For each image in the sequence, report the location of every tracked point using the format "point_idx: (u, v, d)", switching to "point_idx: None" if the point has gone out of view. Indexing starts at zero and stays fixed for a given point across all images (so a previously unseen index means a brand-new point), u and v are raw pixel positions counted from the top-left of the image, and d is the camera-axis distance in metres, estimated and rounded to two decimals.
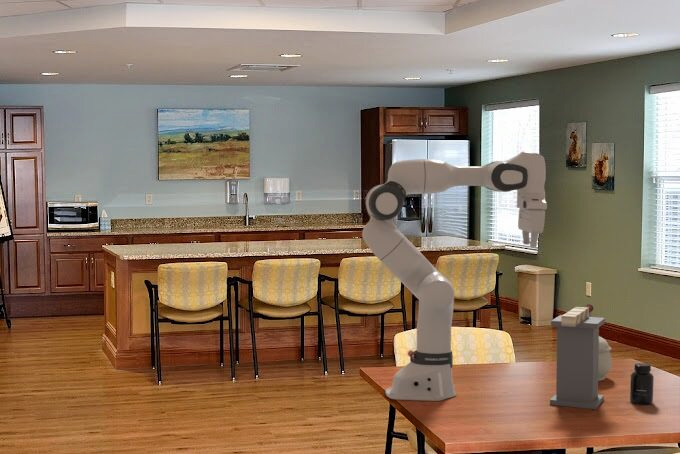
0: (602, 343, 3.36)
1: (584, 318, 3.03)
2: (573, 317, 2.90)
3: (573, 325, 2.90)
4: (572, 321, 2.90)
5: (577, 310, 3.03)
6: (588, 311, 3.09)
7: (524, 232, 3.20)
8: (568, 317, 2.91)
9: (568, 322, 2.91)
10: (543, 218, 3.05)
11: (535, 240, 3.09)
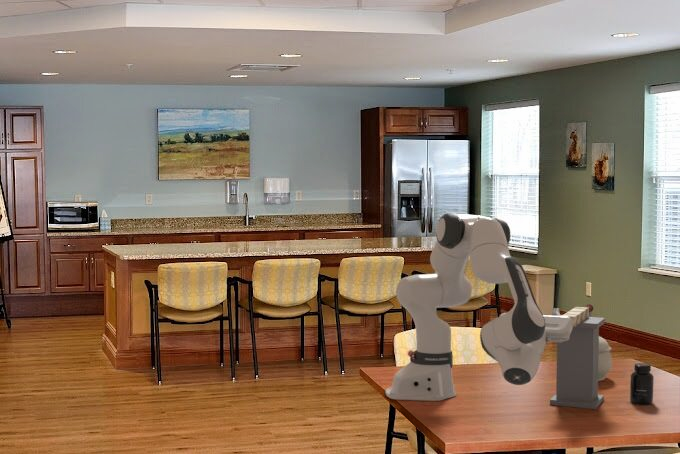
0: (602, 343, 3.36)
1: (584, 318, 3.03)
2: (573, 317, 2.90)
3: (573, 325, 2.90)
4: (572, 321, 2.90)
5: (577, 310, 3.03)
6: (588, 311, 3.09)
7: None
8: None
9: None
10: None
11: None
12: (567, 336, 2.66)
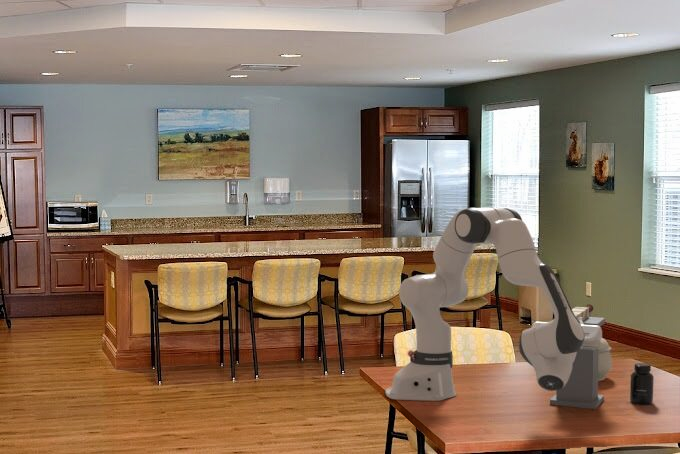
0: (602, 343, 3.36)
1: (584, 318, 3.03)
2: None
3: None
4: None
5: (577, 310, 3.03)
6: (588, 311, 3.09)
7: None
8: None
9: None
10: None
11: None
12: (597, 344, 2.81)
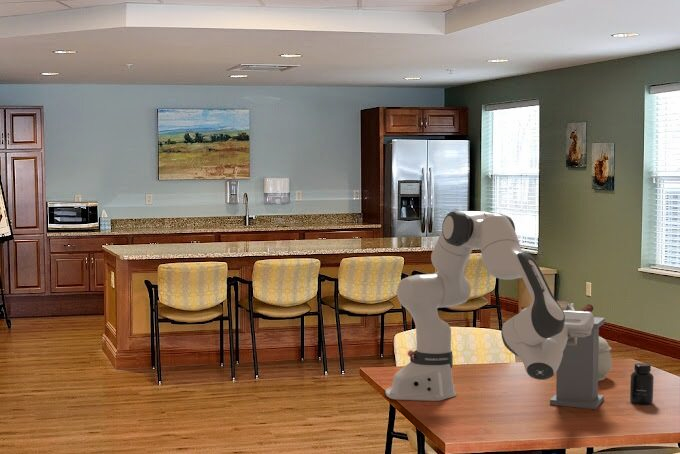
0: (602, 343, 3.36)
1: None
2: (565, 302, 2.78)
3: (564, 309, 2.77)
4: (563, 305, 2.78)
5: None
6: (576, 339, 2.93)
7: None
8: (559, 302, 2.79)
9: None
10: None
11: None
12: (589, 331, 2.68)
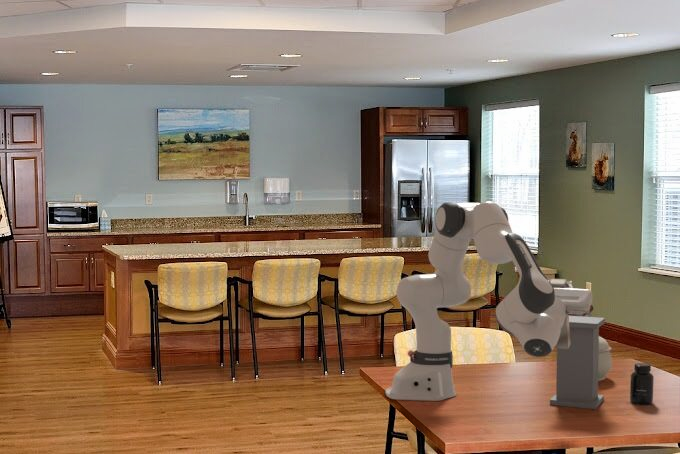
0: (602, 343, 3.36)
1: (567, 328, 2.80)
2: (564, 279, 2.77)
3: (562, 283, 2.75)
4: (562, 281, 2.76)
5: None
6: (569, 344, 2.84)
7: None
8: (558, 279, 2.77)
9: (557, 282, 2.76)
10: None
11: None
12: (587, 308, 2.66)
